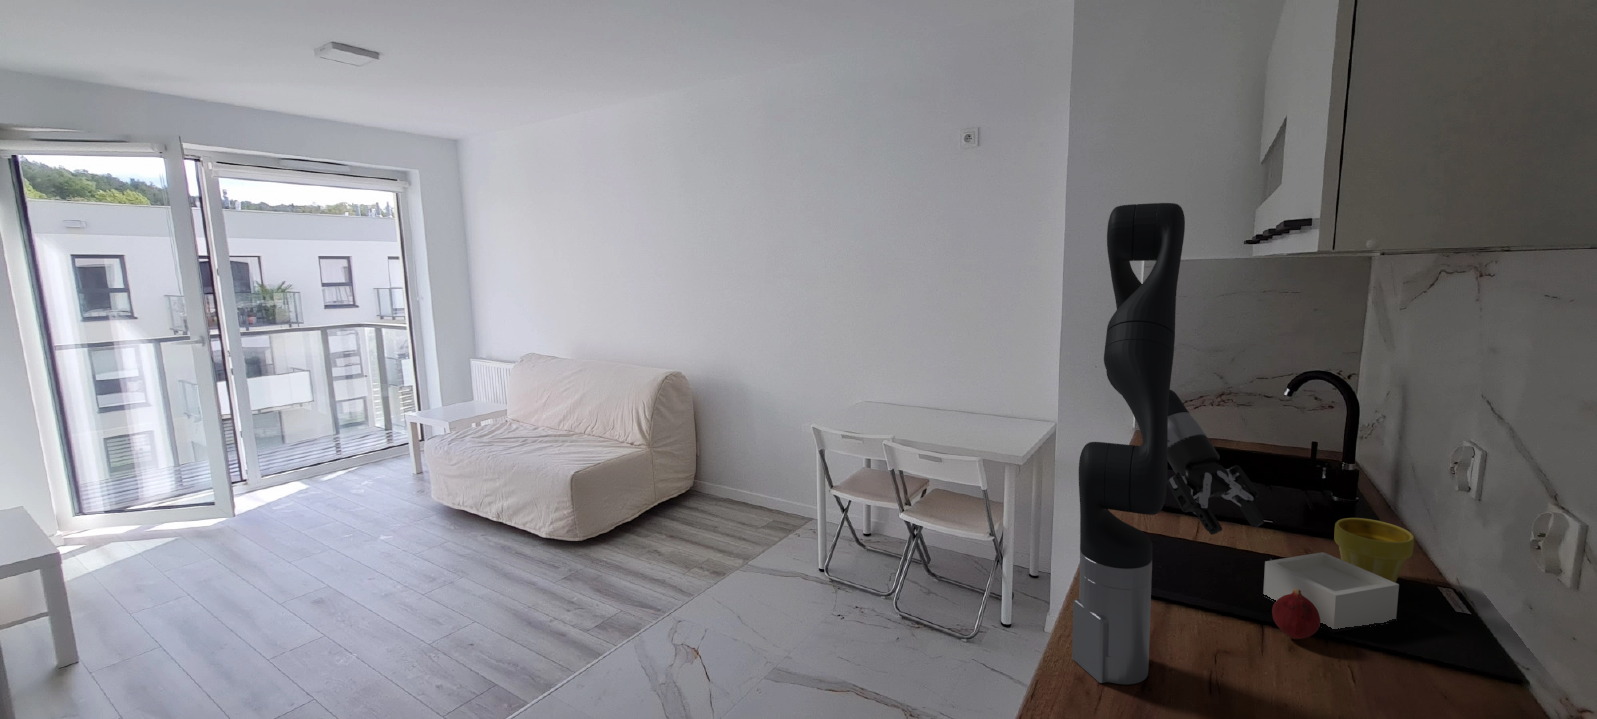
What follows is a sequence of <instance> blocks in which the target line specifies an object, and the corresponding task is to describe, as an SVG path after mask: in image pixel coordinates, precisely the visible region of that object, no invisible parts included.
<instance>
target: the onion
mask: <svg viewBox="0 0 1597 719" xmlns="http://www.w3.org/2000/svg"><path fill="white" fill-rule="evenodd" d="M1271 613H1272V614H1271V615H1272V620H1273V621H1274V623H1275V625H1276V626H1277V627H1278V628H1279V630H1281V632H1282V633H1283V634H1285V635H1286V636H1288V637H1289V638H1290V639H1292V640H1300V639H1306V638H1309V637H1312V636H1313V635H1315V634H1316V633H1317V631H1318V630H1319V628H1320V616H1319V613H1318V610H1317V608H1316V607H1315V606H1314V604H1313V603H1312V602H1311V601H1310V600H1308V599H1307V598H1306V597H1304V596H1303V595H1302V594H1301V590H1299V589H1297V588H1295V589H1294V590H1293V592H1292V594H1288V595H1284V596H1282V597H1281V598H1279V599H1278V600H1277V601H1276V602H1274V603H1273V605H1272V609H1271Z"/></svg>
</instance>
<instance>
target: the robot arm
mask: <svg viewBox="0 0 1597 719" xmlns="http://www.w3.org/2000/svg"><path fill="white" fill-rule="evenodd" d="M1185 220H1186V217H1185V214H1184V210H1183V207H1182V206H1181V205H1180V204H1178V203H1175V202H1174V203H1173V202H1153V203H1152V202H1150V203H1137V204H1136V203H1134V204H1122V205H1118V206H1115V207H1114V208H1113V209H1112V210H1111V212H1110V214H1109V218H1108V223H1107V229H1106V247H1107V256H1108V264H1109V271H1110V277H1111V283H1112V289H1113V294H1114V300H1115V306H1116V310H1115V312H1114V313H1113V315H1112V316H1111V317H1110V319H1109V321H1108V324H1107V326H1106V327H1107V328H1106V336H1105V345H1104V351H1103V352H1104V354H1103V364H1104V367H1105V369H1106V371H1105V372H1106V377H1107V380H1108V381H1109V384H1110V385H1111V386H1112V387H1113V388H1114V389H1115V391H1116V392H1117V393H1119V395H1121V397H1122V398H1123V400H1124V401H1125V402H1126V404H1127V405H1128V407H1129V409H1130V411H1131V413H1132V415H1133V417H1134V419H1135V421H1136V423H1137V426H1138V428H1139V431H1140V435H1141V439H1142V443H1141V444H1140V445H1133V444H1125V443H1124V444H1123V443H1116V442H1115V443H1114V442H1113V443H1112V442H1103V441H1090V442H1088V443H1086V444H1085V445H1084V446H1083V448H1082V450H1081V452H1080V456H1079V460H1078V461H1079V462H1078V493H1079V515H1080V516H1079V518H1080V520H1079V521H1080V522H1079V525H1080V526H1079V528H1080V529H1079V534H1080V536H1079V581H1078V582H1079V585H1078V587H1079V590H1078V592H1079V593H1078V596H1079V597H1078V598H1076V599H1073V602H1072V603H1073V604H1072V656H1071V658H1072V660H1073V661H1074V662H1075V663H1076V664H1078V666H1080V668H1082V669H1083V670H1084V671H1086V672H1087V674H1088V675H1090V676H1091V677H1092V678H1093V679H1095V680H1096V681H1097V682H1098V683H1099V684H1104V683H1112V684H1117V685H1135V684H1138V683H1139V684H1140V683H1142V682H1143V681H1144V680H1146V679H1147V677H1148V675H1149V661H1150V660H1149V659H1150V636H1151V635H1150V634H1151V632H1150V630H1151V603H1152V601H1151V600H1152V598H1151V597H1152V596H1151V595H1152V575H1153V574H1152V571H1153V543H1152V540H1151V539H1150V537H1149V536H1148V535H1147V534H1146V533H1145V532H1144V531H1142V530H1140V529H1139V528H1137V527H1135V526H1133V525H1131V524H1128V523H1126V522H1124V521H1123V520H1122V519H1119V517H1117V516H1116V515H1115V514H1113V513H1112V512H1111V511H1110V510H1112V511H1118V512H1124V513H1133V514H1140V515H1146V516H1154V515H1157V514H1159V513H1160V512H1161V511H1162V510H1163V508H1164V504H1165V501H1166V496H1167V489H1168V487H1169V489H1170V491H1171V493H1172V495H1173V497H1174V499H1175V500H1176V501H1175V502H1177V505H1178V506H1179V508H1180V509H1181V511H1182V512H1183V513H1188V512H1191V513H1193V514H1194V515H1196V516H1197V517H1198V520H1199V521H1200V522H1201V524H1202V526H1203V528H1204V529H1205V530H1206V531H1207V532H1208V533H1209V534H1210V535H1216V534H1218V533H1220V532H1222V531H1223V527H1222V525H1221V524H1220V522H1219V520H1218V519H1217V517H1216V515H1215V514H1214V513H1213V510H1211V508H1208V507H1209V506H1208V505H1209V499H1210V498H1212V497H1213V498H1220V497H1222V498H1223V499H1224V500H1230V501H1232V502H1233V503H1235V504H1236V505H1237V506H1238V507H1239V509H1240V511H1241V512H1242V514H1243V516H1244V517H1245V518H1246V520H1247V522H1248V524H1249V525H1250V526H1251V527H1252V528H1257V527H1260V526H1261V525H1263V524H1264V523H1265V520H1264V516H1263V515H1262V513H1261V512H1260V510H1259V509H1258V508H1257V506H1256V504H1255V502H1254V500H1255V499H1256V498H1257V497H1259V496H1260V494H1261V493H1260V492H1259V490H1258V489H1257V487H1256V486H1255V485H1254V484H1253V482H1252V480H1250V478H1249V477H1248V475H1247V474H1246V473H1245V471H1244V470H1243V468H1242V467H1241V466H1240V465H1238V464H1235V465H1233V466H1231V467H1230V468H1225V467H1224V466H1222V465H1221V463H1220V454H1219V452H1218V451H1217V450H1216V448H1215V447H1214V445H1213V444H1212V442H1211V441H1210V438H1208V437H1207V434H1206V433H1205V432H1204V431H1203V429H1202V427H1201V426H1200V424H1199V423H1198V422H1197V421H1196V419H1195V418H1194V417H1193V416H1192V415H1191V413H1190V412H1189V410H1188V409H1187V407H1186V406H1185V405H1184V403H1183V401H1182V400H1181V398H1180V397H1179V395H1177V393H1176V392H1175V391H1174V390H1172V389H1170V388H1171V382H1172V381H1171V380H1172V379H1171V378H1172V373H1173V372H1172V370H1173V363H1174V354H1175V353H1174V352H1175V342H1176V341H1175V338H1176V314H1177V312H1176V309H1177V306H1176V305H1177V290H1178V289H1177V288H1178V280H1179V275H1180V274H1179V273H1180V267H1181V262H1182V261H1181V260H1182V259H1181V258H1182V253H1183V248H1184V247H1183V245H1184V238H1185V230H1186V227H1185V226H1186V224H1185V223H1186V221H1185ZM1143 261H1145V262H1146V261H1147V262H1150V261H1153V262H1155V263H1154V265H1153V267H1152V268H1151V271H1150V272H1149V274H1148V275H1147V277H1146V279H1145V280H1144V281H1143V282H1141V281H1140V280H1139V278H1138V277H1137V275H1136V274H1135V272H1134V271H1133V268H1132V265H1131V262H1143ZM1168 463H1169V465H1170V466H1171V469H1172V470H1173V472H1174V475H1173V476H1172V477H1170V478H1169V479H1168ZM1229 488H1230V489H1229ZM1246 489H1247V490H1248V491H1249V492H1248V491H1247V490H1246Z"/></svg>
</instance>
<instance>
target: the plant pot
mask: <svg viewBox="0 0 1597 719" xmlns="http://www.w3.org/2000/svg"><path fill="white" fill-rule="evenodd" d="M1333 531H1334V534H1333V535H1334V538H1333V540H1334V541H1335V544H1336V545H1337V546H1338V549H1339V555H1340V559H1341V560H1343V561H1345V562H1348V563H1350V564H1352V565H1355V566H1357V567H1359V568H1362V569H1364V570H1366V571H1369V572H1371V573H1373V574H1376V575H1378V576H1381V577H1383V578H1385V579H1388V580H1390V581H1392V582H1395V583H1397V581H1398V578H1399V575H1400V573H1401V571H1402V569H1403V567H1404V564H1405V562H1406V560H1408V559H1410V558H1411V557H1412V556H1413V552H1414V548H1415V547H1414V544H1415V536H1414V535H1413V534H1412V533H1411V532H1410V531H1409V530H1407V529H1405V528H1403V527H1401V526H1398V525H1395V524H1392V523H1388V522H1385V521H1382V520H1377V519H1376V520H1375V519H1370V518H1364V517H1363V518H1362V517H1361V518H1360V517H1348V518H1347V517H1346V518H1340V519H1339V520H1337V521H1336V522H1335V524H1334V530H1333Z"/></svg>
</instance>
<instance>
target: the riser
mask: <svg viewBox="0 0 1597 719" xmlns="http://www.w3.org/2000/svg"><path fill="white" fill-rule="evenodd" d="M1295 588H1297V589H1299V590H1301V594H1302V595H1303V596H1304V597H1306V598H1307V599H1308V600H1310V601H1311V602H1312V603H1313V604H1314V606H1315V607H1316V608H1317V610H1318V613H1319V616H1320V623H1323V624H1326V625H1327V626H1328V627H1331V628H1332V629H1338V628H1339V629H1340V628H1345V627H1354V626H1362V625H1369V624H1374V623H1384V622H1387V621H1389V620H1392V619H1396V620H1397V613H1398V601H1399V589H1400V584H1399V583H1397V582H1396V583H1395V582H1392V581H1390V580H1388V579H1385V578H1383V577H1381V576H1378V575H1376V574H1373V573H1371V572H1369V571H1366V570H1364V569H1362V568H1359V567H1357V566H1355V565H1352V564H1350V563H1348V562H1345V561H1343V560H1341V558H1338V557H1335V556H1333V555H1331V554H1329V553H1326V552H1324V551H1322V552H1316V553H1309V554H1304V555H1303V554H1302V555H1297V556H1290V557H1285V558H1284V557H1283V558H1279V559H1272V560H1267V561H1266V560H1265V561H1264V578H1263V591H1262V593H1263V594H1264V595H1267V596H1268V597H1270V598H1271V599H1274V600H1276V601H1277V600H1278V599H1279V598H1281V597H1282V596H1284V595H1288V594H1292V592H1293V590H1294V589H1295ZM1263 594H1262V595H1263ZM1271 599H1270V600H1271Z"/></svg>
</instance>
